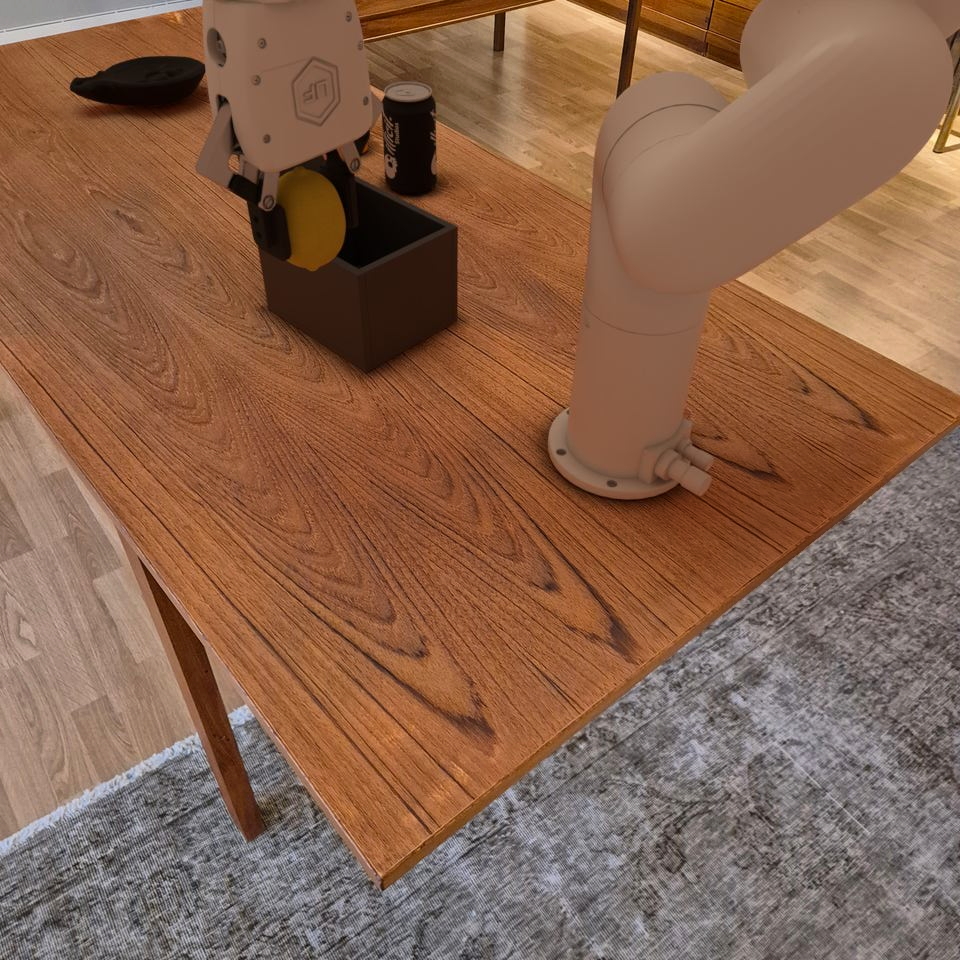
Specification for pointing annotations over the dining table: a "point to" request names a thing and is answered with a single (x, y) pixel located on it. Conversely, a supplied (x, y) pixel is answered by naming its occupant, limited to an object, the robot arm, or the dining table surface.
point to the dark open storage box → (373, 282)
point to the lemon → (311, 217)
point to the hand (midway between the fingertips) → (308, 234)
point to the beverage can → (409, 137)
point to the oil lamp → (143, 81)
